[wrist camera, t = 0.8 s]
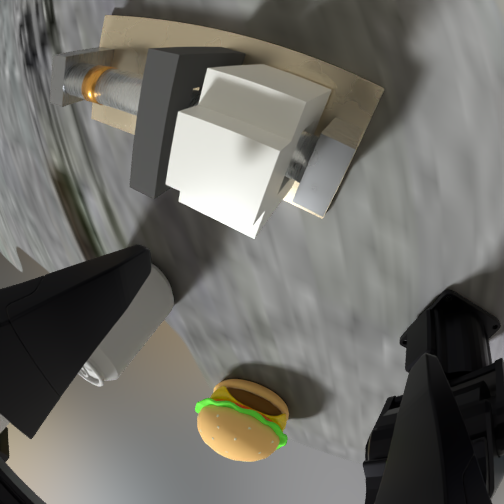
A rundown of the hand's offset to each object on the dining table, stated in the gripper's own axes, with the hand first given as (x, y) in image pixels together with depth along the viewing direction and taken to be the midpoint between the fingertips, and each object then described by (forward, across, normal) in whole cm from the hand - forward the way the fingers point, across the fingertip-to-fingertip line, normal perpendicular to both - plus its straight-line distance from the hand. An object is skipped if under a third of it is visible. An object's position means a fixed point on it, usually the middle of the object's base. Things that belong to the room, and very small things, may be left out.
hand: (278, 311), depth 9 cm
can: (+12, +15, +16) cm, 25 cm away
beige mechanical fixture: (+12, +10, -3) cm, 15 cm away
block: (+12, +8, -3) cm, 15 cm away
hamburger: (+13, +2, +31) cm, 33 cm away
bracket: (+12, +4, -2) cm, 13 cm away
